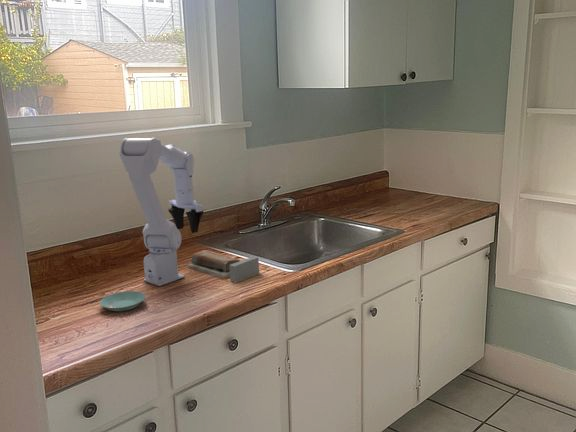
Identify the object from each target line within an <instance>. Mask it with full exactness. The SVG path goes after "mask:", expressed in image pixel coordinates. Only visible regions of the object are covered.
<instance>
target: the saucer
mask: <svg viewBox="0 0 576 432" xmlns="http://www.w3.org/2000/svg"><path fill="white" fill-rule="evenodd" d="M146 297H147V296H146V294H145V293H144V292H141V291H136V290H128V291H121V292H120V291H119V292H116V293H111V294H108V295H107V296H105V297H103V298H102V299H101V300H100V301H99V305H100V306H101V307H103V308H104V309H107V310H108V311H112V312H126V310H127V311H130V310H133V309H135V308H137V307H138V306H140V305H141V303H142V302H143V301H144V300H145V299H146ZM111 305H112V307H113V308H109V307H110V306H111ZM114 307H116V308H114Z"/></svg>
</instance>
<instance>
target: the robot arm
mask: <svg viewBox="0 0 576 432" xmlns="http://www.w3.org/2000/svg"><path fill="white" fill-rule="evenodd" d="M175 146H176V145H175V144H174V143H169V144H167V145H165V144H163V143H162V141H161V139H160V138H157V137H151V138H148V137H147V138H144V137H143V138H141V137H140V138H138V137H135V138H129V137H125V138H123V139H122V141H121V143H120V146H119V147H120V148H119V156H120V158H121V162H122V165H123V166H124V169H125V172H127V173H128V177H129V181H130V183H131V185H132V188H133V189H134V193H135V195H136V197H137V200H138V203H139V205H140V208H141V210H142V213H143V215H144V218H145V220H146V224H145V225H144V227H143V229H142V231H141V233H142V235H143V244H144V245H145V248H146V249H148V252H149V253H148V254H146V255H145V256H144V258H143V270H144V279H143V281H144V282H148V283H150V284H153V285H156V286H158V287H160V286H164V285H166V284H169V283H172V282H175V281H178V280H180V279H181V280H182V279H184V278H185V277H186V276H185V275H184V274H182V273H179V267H178V256H177V250H178V249H179V248H180V247H181V244H182V233H181V231H180V230H183V229H184V223H185V222H184V221H185V220H184V219H185V216H184V215H186V217H187V220H188V222H189V227H190V228H189V229H190V232H191V234H194V233H199V226H200V222H201V218H202V216H203V214H204V209H203V204H199V203H198V202H197V200H195V198H194V197H195V196H194V184H193V175H194V166H195V159H194V155H193V154H192V153H191V152H189V151H183V150H182V149H181V148H177V147H175ZM159 161H161V162H162V163H164V164H165V165H167V166H169V168H170V170H171V171H173V172H172V173H173V182H174V195H175V199H170V200H168V206H169V207H171V208H168V212H169V214H170V216H171V217H172V219H173V221H174V222H173V221H171V220H169V219H167V218H166V215H165V213H164V210H163V207H162V203H161V201H160V199H159V196H158V194H157V191H156V188H155V186H154V183H153V180H152V177H151V175H152V174H153V173H155V172H156V171H157V169H158V165H159ZM185 210H189V211H186V212H185Z"/></svg>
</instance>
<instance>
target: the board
mask: <svg viewBox="0 0 576 432" xmlns="http://www.w3.org/2000/svg"><path fill="white" fill-rule="evenodd" d="M229 267H230V277H229V278H230V279H229V280H230V282H232V283H238V282H240V281H243V280H245V279H248V278H250V277H253V276H255V275H258V274H260V263H259V256H251V257H247V258H245V259H242V260H240V261H239V262H236V263H234V264H231V265H229Z"/></svg>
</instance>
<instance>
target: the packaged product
mask: <svg viewBox="0 0 576 432" xmlns="http://www.w3.org/2000/svg"><path fill="white" fill-rule="evenodd" d="M239 261H241V260H240V259H238V258H236V257H235V258H234V257H231V256H228V255H225V254H221V253H218V252H214V251H211V250H207V249H203V250H200V251H197V252H194V253H192V254H191V262H189V263H187V268H189V269H191V270H195V271H198V272H201V273H204V274H207V275H209V276H213V277H216V278H220V279H223V280H224V279H227V278H230V267H229V265H231V264H234V263H236V262H239Z"/></svg>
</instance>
